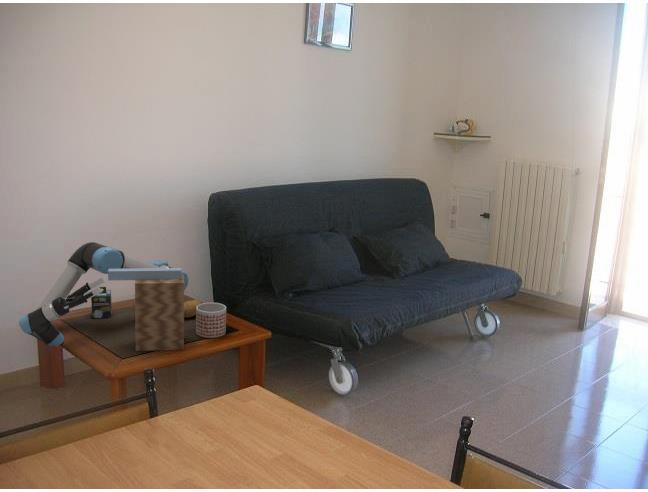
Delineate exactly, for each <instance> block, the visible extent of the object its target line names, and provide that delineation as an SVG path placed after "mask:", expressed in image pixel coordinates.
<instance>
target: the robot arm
mask: <svg viewBox="0 0 648 492" xmlns="http://www.w3.org/2000/svg"><path fill="white" fill-rule="evenodd" d="M131 268H174V267H173V266H169V262H168V261H167V260H161V259H160V260H152V261H148V262H146V261H143V260H139V259H137V258H133V257H131V256H127V255H125V253H124V252H123V251H122V250H119V249H117V248H115V247H111V246H107V245H104V244H101V243H98V242H94V241H93V242H92V241H90V242H86V243H84V244H82V245H81V246H80V247H78V248H77V249H76V250H75V252H73V253H72V254H71V256H70V257H69V259H68V260H67V265H66V267H65V268H64V270H63V271H62V273H61V274H60V276H59V277H58V278H57V279H56V281H55V282H54V284H53V285H52V287H51V289H50V290H49V291H48V293H47V294H46V295H45V297H44V299H43V300H42V301H41V303H40V304H39V305H38V307H37V308H36V310H33V311H31V312H29V313H27V314H26V315H24V316H22V317H20V319H19V322H18V324H19V327H20V329H21V330H22V332H23V333H24V334H26V335H28V336H29V335H30V336H31V337H34V338H35V339H37V340H39V341H41V342H42V343H44V344H45V345H46V346H47V347H57V346H61V344H63V343H64V340H65V336H64V335H63V334H62V332H61V331H60V330H59V329H58V328H57V327H56V326H55V325H54V324H52V322H54V321H56V320H58V319H59V318H61V317H63V316H65V315H67V314H68V313H69V312H70V309H72V308H76V307H77V306H80V305H82V304H84V303H85V304H87V303H88V302H89V301H88V300H91V297H93V296H95V295H97V294H99V293H101V292H102V291H101V290H102V289H100V288H99V287H100V286H101V285H102V284H105V283H106V281H105V280H104V278H103V276H100V277H98V278H97V279H95V280H93V281H91V282H89V283H88V282H85V284H84V285H82V286H81V287H80V288H78V289H76V290H75V291H74V292H72V290H73V289H74V288H75V285H76V284H77V283H78V281H79V280H80V278H81V277H82V276H83V274H87V272H88V271H89V270H90V269H92V270H94V271H97V272H99V273H101V274H104V275H108V270H109V269H131ZM181 274H184V291H185V290H186V289H187V287H188V285H189V279H190V278H189V276H188V273H187V272H186V271H184V270H183V269H181ZM71 292H72V293H71Z"/></svg>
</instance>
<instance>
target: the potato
mask: <svg viewBox="0 0 648 492" xmlns="http://www.w3.org/2000/svg"><path fill="white" fill-rule="evenodd" d="M200 304H202V303H201V301H199V300H197V299H193V300H192V299H191V300H187V301H184V319H185V318H186V319H189V318H193V317H194V316H195V317H196V307H197V306H198V305H200Z"/></svg>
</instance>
